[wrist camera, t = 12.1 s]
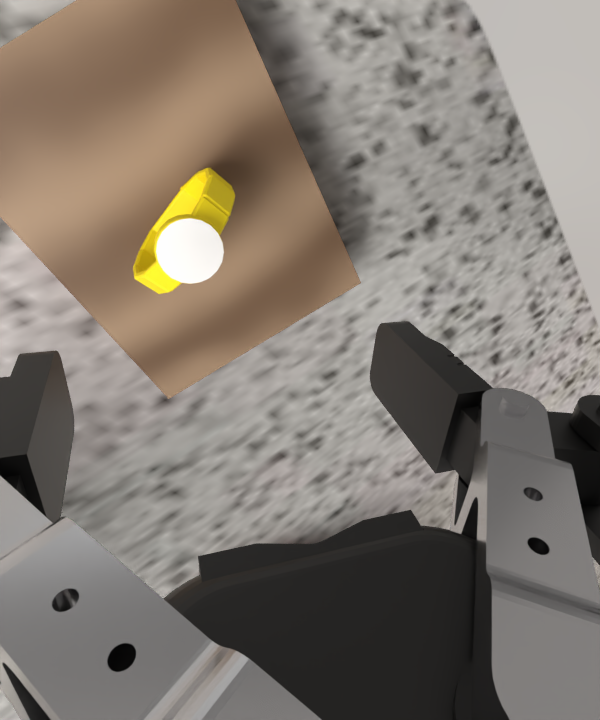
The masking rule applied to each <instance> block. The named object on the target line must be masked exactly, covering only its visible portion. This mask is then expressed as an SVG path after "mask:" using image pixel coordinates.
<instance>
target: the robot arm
mask: <svg viewBox="0 0 600 720" xmlns="http://www.w3.org/2000/svg"><path fill="white" fill-rule="evenodd" d="M370 381H371V386H372V389H373V391H374V393H375V395H376V396H377V397H378V399H379V400H380V401H381V403H382V404H383V405H384V407H385V408H386V409H387V411H388V412H389V413H390V414H391V416H392V417H393V418H394V420H395V421H396V422H397V424H398V425H399V426H400V428H401V429H402V430H403V431H404V433H405V434H406V435H407V437H408V438H409V439H410V441H411V442H412V443H413V445H414V446H415V447H416V449H417V450H418V451H419V452H420V454H421V455H422V456H423V458H424V459H425V460H426V462H427V463H428V464H429V466H430V467H431V468H432V470H433V471H434V472H435V473H441V472H446V471H451V470H456V472H457V473H458V474H457V477H456V480H455V484H454V493H453V503H452V513H451V523H450V530H446V529H441V528H436V527H429V526H421V525H420V524H419V522H418V521H417V519H416V518H415V516H414V514H413V513H412V511H411V510H408V511H404V512H399V513H394V514H390V515H385V516H381V517H376V518H371V519H367V520H363V521H361V522H359V523H357V524H355V525H353V526H351V527H349V528H347V529H345V530H343V531H341V532H339V533H338V534H336V535H334V536H332V537H330V538H328V539H326V540H324V541H322V542H319V543H316V544H252V545H248V546H243V547H238V548H234V549H229V550H225V551H220V552H216V553H211V554H206V555H202V556H198V560H199V573H200V575H199V576H197V577H195V578H193V579H191V580H189V581H187V582H186V583H184V584H183V585H181V586H179V587H178V588H176V589H175V590H174V591H172V592H171V593H170V594H169V595H167V596H166V597H165V598H164V599H163V598H162V597H161V596H159V595H158V594H157V593H156V592H155V591H154V590H153V589H151V588H150V587H149V586H148V585H147V584H146V583H144V582H143V581H142V580H141V579H140V578H139V577H138V576H136V575H135V574H134V573H133V572H132V571H131V570H129V569H128V568H127V567H126V566H125V565H124V564H123V563H121V562H120V561H119V560H118V559H117V558H116V557H114V556H113V555H112V554H111V553H110V552H109V551H108V550H106V549H105V548H104V547H103V546H102V545H101V544H99V543H98V542H97V541H96V540H95V539H94V538H92V537H91V536H90V535H89V534H88V533H87V532H86V531H84V530H83V529H82V528H81V527H80V526H79V525H77V524H76V523H75V522H74V521H73V520H71V519H69V518H67V517H61V510H62V504H63V498H64V492H65V485H66V479H67V473H68V467H69V460H70V454H71V448H72V441H73V435H74V415H73V408H72V403H71V399H70V395H69V391H68V386H67V382H66V378H65V373H64V369H63V365H62V361H61V357H60V355H59V353H58V351H47V352H36V353H24V354H20V355H19V356H18V359H17V361H16V364H15V366H14V369H13V371H12V374H11V376H10V377H2V378H0V690H1V691H2V692H3V694H4V695H5V697H6V698H7V699H8V701H9V702H10V704H11V705H12V707H13V708H14V710H15V711H16V713H17V714H18V716H19V718H20V719H21V720H600V591H599V586H598V582H597V577H596V573H595V568H594V563H593V559H592V557H593V558H594V559H595V560H596V561H597V562H598V564H599V565H600V396H599V395H587V396H584V397H581V398H580V399H579V401H578V403H577V405H576V407H575V409H574V412H573V413H560V412H547V411H546V409H545V407H544V406H543V405H542V404H541V403H540V402H539V401H538V400H536V399H535V398H533V397H531V396H530V395H528V394H525V393H523V392H520V391H517V390H513V389H508V388H492V387H491V386H490V385H489V384H488V383H486V382H485V381H484V380H483V379H482V378H481V377H479V376H478V375H477V374H476V373H475V372H474V371H473V370H471V369H470V368H469V367H468V366H467V365H464V363H463V362H462V361H461V360H460V359H459V358H458V357H454V354H453V353H452V352H451V351H449V350H448V349H447V348H446V347H445V346H444V345H442V344H440V343H438V342H436V341H434V340H432V339H430V338H428V337H426V336H425V335H424V334H422V333H421V332H420V331H419V330H418V329H417V328H416V327H415V326H413V325H412V324H411V323H410V322H408V321H403V322H391V323H382V324H380V326H379V327H378V329H377V333H376V339H375V346H374V352H373V358H372V364H371V370H370ZM60 517H61V518H60Z"/></svg>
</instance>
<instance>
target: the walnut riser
mask: <svg viewBox="0 0 600 720" xmlns="http://www.w3.org/2000/svg"><path fill="white" fill-rule="evenodd" d="M205 168H211V169H212V170H213V171H215V172H216V173H217V174H218V175H219V176H221V177H222V178H223V179H224V180H225V181H226V182H228V183H229V184H230V185H231V186H232V188H233V190H234V193H235V200H234V204H233V207H232V211H231V214H230V216H229V217H228V218H229V219H228V221H227V223H226V225H225V227H224V229H223V230H222V232H221V234H220V237H221V240H222V242H223V249H224V254H223V260H222V263H221V265H220V267H219V269H218V271H217V272H216V273H215V274H214V275H212V276H211V277H210V278H209V279H207V280H204V281H202V282H200V283H193V284H187V283H182V284H180V285H179V286H178V287H177V288H175V289H174V290H173V291H171V292H168V293H162V294H158V293H156V292H155V291H153V290H152V289H150V288H148V287H147V286H145V285H143V284H142V283H140V282H139V281H137V280H136V279H135V278H134V272H133V268H134V267H133V266H134V263H135V260H136V258H137V255H138V252H139V251H140V248H141V246H142V244H143V242H144V240H145V239H146V237H147V235H148V233H149V231H150V230H151V229H152V227H153V226H154V225H155V223H156V222H157V221H158V219H159V218H160V216H161V215H162V214H163V212H164V211H165V210H166V208H167V207H168V206H169V204H170V203H171V202H172V200H173V199H174V198H175V196H176V195H177V193H178V192H179V191H180V188H181V186H183V185H184V184H185V183H186V182H187V181H188V180H189V179H190V178H191V177H192V176H193V175H195V174H196V173H197V172H198V171H201V170H203V169H205ZM0 217H1V218H2V219H3V220H4V221H5V222H6V224H7V225H8V226H9V227H10V228H11V229H12V230H13V231H14V232H15V233H16V234H17V235H18V237H19V238H20V239H21V240H22V241H23V242H24V243H25V244H26V245H27V246H28V247H29V248H30V249H31V251H32V252H33V253H34V254H35V255H36V256H37V257H38V258H39V259H40V260H41V261H42V262H43V264H44V265H45V266H46V267H47V268H48V269H49V270H50V271H51V272H52V273H53V274H54V275H55V276H56V278H57V279H58V280H59V281H60V282H61V283H62V284H63V285H64V286H65V287H66V288H67V289H68V291H69V292H70V293H71V294H72V295H73V296H74V297H75V298H76V299H77V300H78V301H79V302H80V303H81V305H82V306H83V307H84V308H85V309H86V310H87V311H88V312H89V313H90V314H91V315H92V316H93V318H94V319H95V320H96V321H97V322H98V323H99V324H100V325H101V326H102V327H103V328H104V329H105V331H106V332H107V333H108V334H109V335H110V336H111V337H112V338H113V339H114V340H115V341H116V342H117V343H118V345H119V346H120V347H121V348H122V349H123V350H124V351H125V352H126V353H127V354H128V355H129V356H130V358H131V359H132V360H133V361H134V362H135V363H136V364H137V365H138V366H139V367H140V368H141V369H142V370H143V372H144V373H145V374H146V375H147V376H148V377H149V378H150V379H151V380H152V381H153V382H154V383H155V385H156V386H157V387H158V388H159V389H160V390H161V391H162V392H163V393H164V394H165V395H166V396H167V397H168V399H169V398H171V397H173V396H174V395H176V394H178V393H179V392H181V391H183V390H184V389H186V388H188V387H189V386H191V385H193V384H194V383H196V382H198V381H199V380H201V379H203V378H204V377H206V376H207V375H209V374H211V373H212V372H214V371H216V370H217V369H219V368H221V367H222V366H224V365H226V364H227V363H229V362H231V361H232V360H234V359H236V358H237V357H239V356H241V355H242V354H244V353H246V352H247V351H249V350H251V349H252V348H254V347H256V346H257V345H259V344H261V343H262V342H264V341H265V340H267V339H269V338H270V337H272V336H274V335H275V334H277V333H279V332H280V331H282V330H284V329H285V328H287V327H289V326H290V325H292V324H294V323H295V322H297V321H299V320H300V319H302V318H304V317H305V316H307V315H309V314H310V313H312V312H314V311H315V310H317V309H319V308H320V307H322V306H323V305H325V304H327V303H328V302H330V301H332V300H333V299H335V298H337V297H338V296H340V295H342V294H343V293H345V292H347V291H348V290H350V289H352V288H353V287H355V286H357V285H358V284H360V283H361V282H360V280H359V277H358V275H357V273H356V271H355V268H354V266H353V264H352V262H351V259H350V257H349V255H348V253H347V250H346V248H345V246H344V244H343V241H342V239H341V237H340V235H339V232H338V230H337V228H336V226H335V223H334V221H333V219H332V217H331V214H330V212H329V210H328V208H327V205H326V203H325V201H324V199H323V196H322V194H321V192H320V189H319V187H318V185H317V183H316V180H315V178H314V176H313V174H312V171H311V169H310V167H309V165H308V162H307V160H306V158H305V156H304V153H303V151H302V149H301V147H300V144H299V142H298V140H297V138H296V135H295V133H294V131H293V129H292V126H291V124H290V122H289V120H288V117H287V115H286V113H285V111H284V108H283V106H282V104H281V102H280V99H279V97H278V95H277V93H276V90H275V88H274V86H273V83H272V81H271V79H270V77H269V74H268V72H267V70H266V68H265V65H264V63H263V61H262V59H261V56H260V54H259V52H258V50H257V47H256V45H255V43H254V41H253V38H252V36H251V34H250V32H249V29H248V27H247V25H246V23H245V20H244V18H243V16H242V14H241V11H240V9H239V7H238V5H237V2H236V0H76V1H75V2H73V3H72V4H70V5H68V6H67V7H65V8H64V9H62V10H60V11H59V12H57V13H56V14H54V15H52V16H51V17H49V18H47V19H46V20H44V21H43V22H41V23H39V24H38V25H36V26H35V27H33V28H31V29H30V30H28V31H27V32H25V33H23V34H22V35H20V36H19V37H17V38H15V39H14V40H12V41H11V42H9V43H7V44H6V45H4V46H3V47H1V48H0Z"/></svg>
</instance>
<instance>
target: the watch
mask: <svg viewBox="0 0 600 720" xmlns="http://www.w3.org/2000/svg"><path fill="white" fill-rule="evenodd" d="M234 200H235V193H234V190H233V188H232V186H231V185H230V184H229V183H228V182H226V181H225V180H224V179H223V178H222V177H221V176H219V175H218V174H217V173H216V172H215V171H213V170H212V169H211V168H205V169H203V170H201V171H198V172H197V173H196V174H195V175H193V176H192V177H191V178H190V179H189V180H188V181H187V182H186V183H185V184H184V185H183V186H181V188H180V191H179V192H178V193H177V195H176V196H175V198H174V199H173V200H172V202H171V203H170V204H169V206H168V207H167V208H166V210H165V211H164V212H163V214H162V215H161V216H160V218H159V219H158V221H157V222H156V223H155V225H154V226H153V227H152V229H151V230H150V231H149V233H148V235H147V237H146V239H145V240H144V242H143V244H142V246H141V248H140V251H139V252H138V255H137V258H136V260H135V263H134V266H133V267H134V268H133V272H134V278H135V279H136V280H137V281H139V282H140V283H142V284H143V285H145V286H147V287H148V288H150V289H152V290H153V291H155V292H156V293H158V294H162V293H168V292H171V291H173V290H174V289H175V288H177V287H178V286H179V285H180V284H182V283H187V284H193V283H200V282H202V281H204V280H207V279H209V278H210V277H211V276H212V275H214V274H215V273H216V272H217V271H218V269H219V267H220V265H221V263H222V260H223V254H224V249H223V242H222V240H221V237H220V234H221V232H222V230H223V229H224V227H225V225H226V223H227V221H228V219H229V218H228V217H229V216H230V214H231V211H232V207H233V204H234Z"/></svg>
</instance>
